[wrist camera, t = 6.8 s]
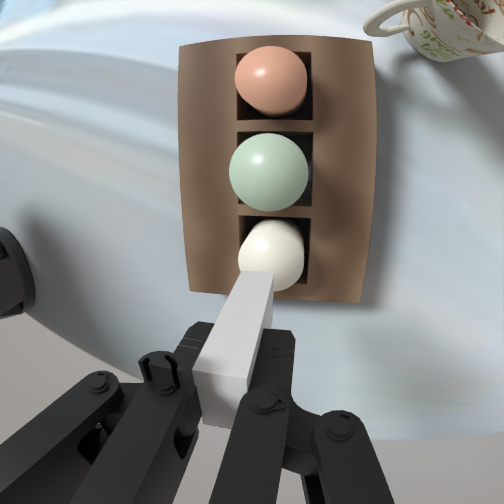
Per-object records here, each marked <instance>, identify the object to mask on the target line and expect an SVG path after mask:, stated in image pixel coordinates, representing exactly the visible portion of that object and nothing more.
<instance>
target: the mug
mask: <svg viewBox="0 0 504 504" xmlns="http://www.w3.org/2000/svg"><path fill="white" fill-rule="evenodd" d="M401 11H403V13H402V16H401V25H396V26H390V27H380V28H379V26H380V25H381V24H382V23H383V22H384V21H385V20H387V19H388V18H390V17H391V16H393V15H395V14H397V13H399V12H401ZM363 30H364V32H365V33H366V34H367V35H369V36H373V37H388V36H391V35H394V34H397V33H400V32H403V33H404V35H405V37H406V39H407V40H408V42H409V43H410V44H411V45H412V47H413V48H414V49H415V50H417V51H418V52H419V53H420V54H422V55H423V56H425V57H426V58H428V59H431V60H433V61H437V62H449V61H454V60H459V59H463V58H468V57H473V56H479V55H485V54H491V53H497V52H504V0H395V1H393V2H391V3H389V4H387V5H385V6H383V7H382V8H380V9H378V10H377V11H376V12H374V13H373V14H372V15H371V16H370V17H369V18H368V19H367V20H366V22H365V23H364V26H363Z"/></svg>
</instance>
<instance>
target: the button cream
mask: <svg viewBox="0 0 504 504" xmlns="http://www.w3.org/2000/svg"><path fill="white" fill-rule="evenodd" d="M238 264H239V269H240V271H242V270H247V271H260V272H274V290H273V292H275V291H281V290H284V289H287V288H289V287H290V286H292V285H293V284H294V283H295V282H296V281H297V280H298V279H299V277H300V276H301V274H302V271H303V267H304V238H303V234H302V232H301V230H300V228H299V227H298V226H297V225H296V224H295V223H294V222H293V221H291V220H290V219H288V218H285V217H277V216H270V217H266V218H264V219H262V220H260V221H259V222H258V223H257V224H256V225H255V226H254V227H253V229H252V230H251V232H250V233H249V235H248V237H247V238H246V240H245V241H244V243H243V244H242V246H241V248H240V251H239V255H238Z"/></svg>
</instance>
